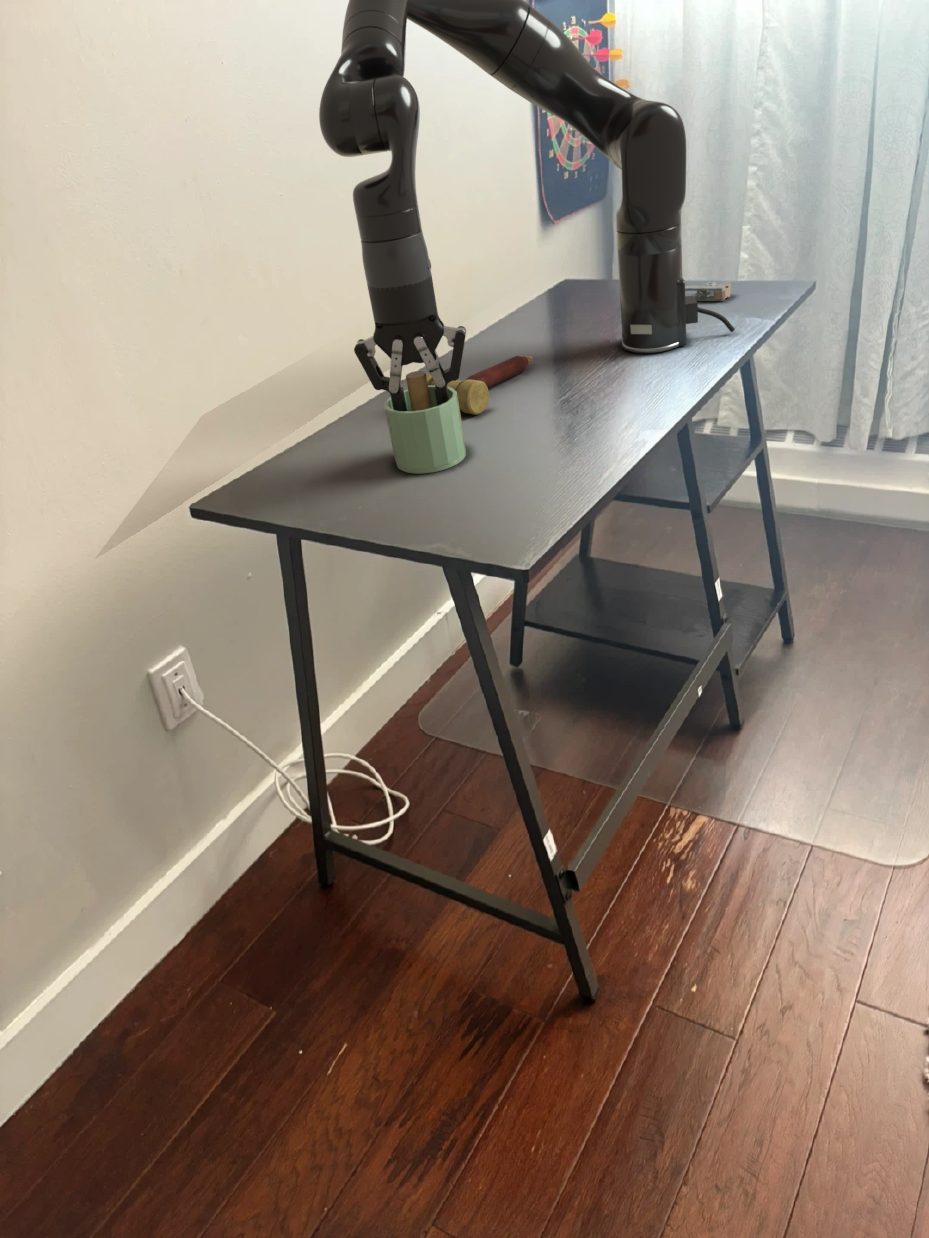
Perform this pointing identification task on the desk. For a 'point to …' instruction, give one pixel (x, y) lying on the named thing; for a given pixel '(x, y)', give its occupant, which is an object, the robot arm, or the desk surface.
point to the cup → (427, 434)
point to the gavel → (484, 383)
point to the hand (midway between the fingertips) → (423, 415)
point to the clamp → (719, 290)
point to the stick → (418, 390)
